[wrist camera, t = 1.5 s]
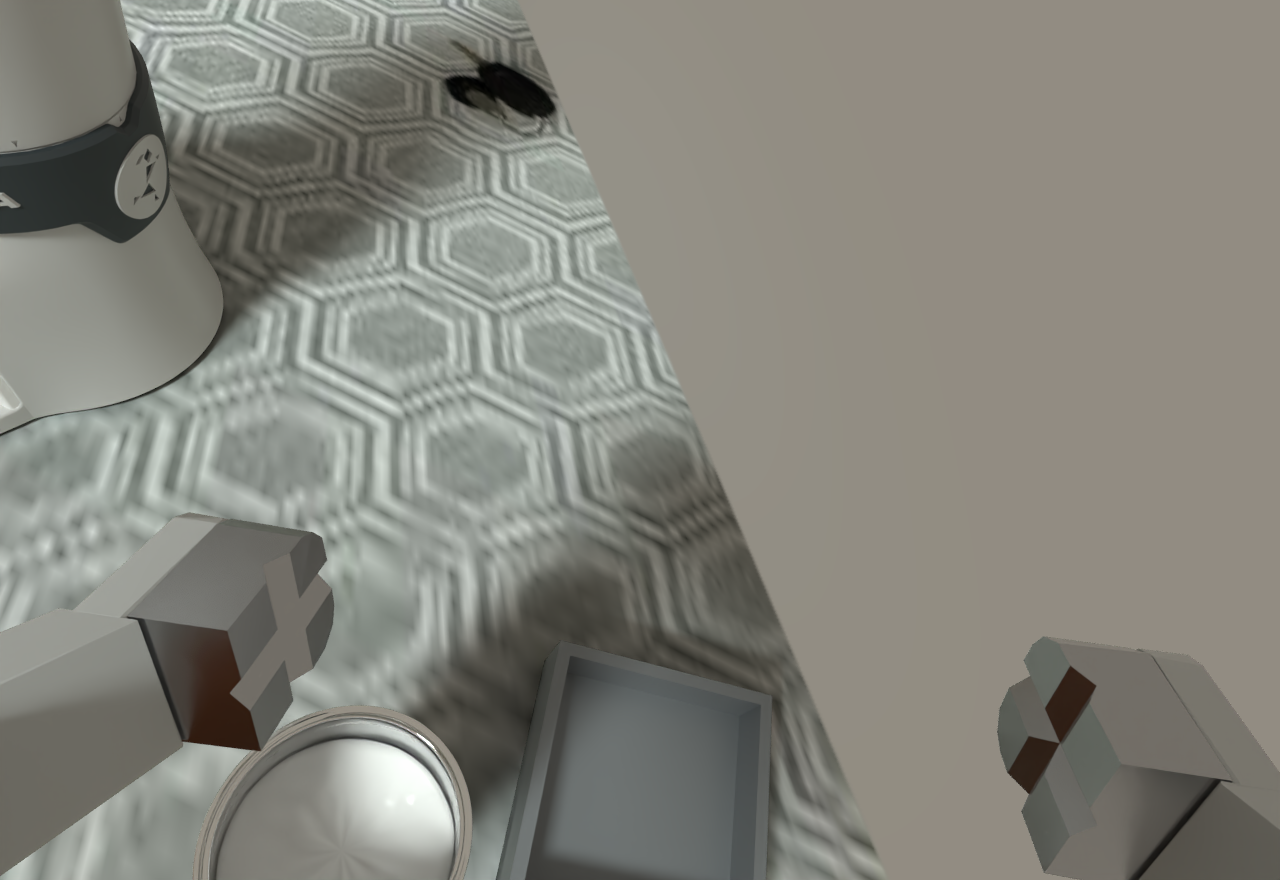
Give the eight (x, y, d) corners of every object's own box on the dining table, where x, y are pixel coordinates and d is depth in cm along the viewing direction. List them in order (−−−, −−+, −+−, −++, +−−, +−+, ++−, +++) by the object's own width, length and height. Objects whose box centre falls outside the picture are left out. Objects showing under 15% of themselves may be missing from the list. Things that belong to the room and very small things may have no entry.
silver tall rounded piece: (371, 1006, 28) (395, 1064, 17) (205, 934, 28) (106, 939, 16) (456, 819, 33) (523, 759, 21) (313, 754, 32) (298, 654, 20)
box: (487, 917, 31) (502, 916, 28) (544, 661, 38) (560, 640, 35) (727, 962, 33) (763, 965, 30) (742, 711, 40) (772, 695, 37)
